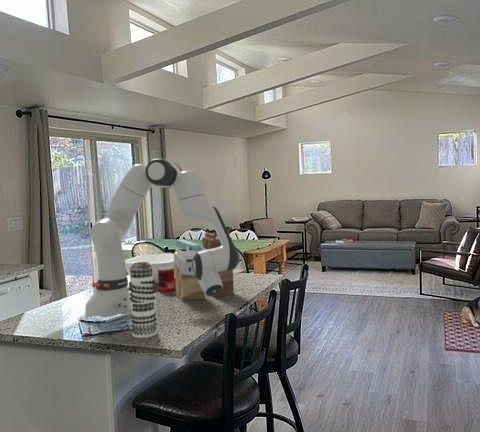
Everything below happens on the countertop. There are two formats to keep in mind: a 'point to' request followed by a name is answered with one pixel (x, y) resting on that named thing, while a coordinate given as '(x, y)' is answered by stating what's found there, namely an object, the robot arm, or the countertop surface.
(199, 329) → the countertop surface
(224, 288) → the end cap post
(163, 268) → the canned food
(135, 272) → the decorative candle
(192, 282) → the tan wooden tall block
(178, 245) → the teal block
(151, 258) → the baking dish
